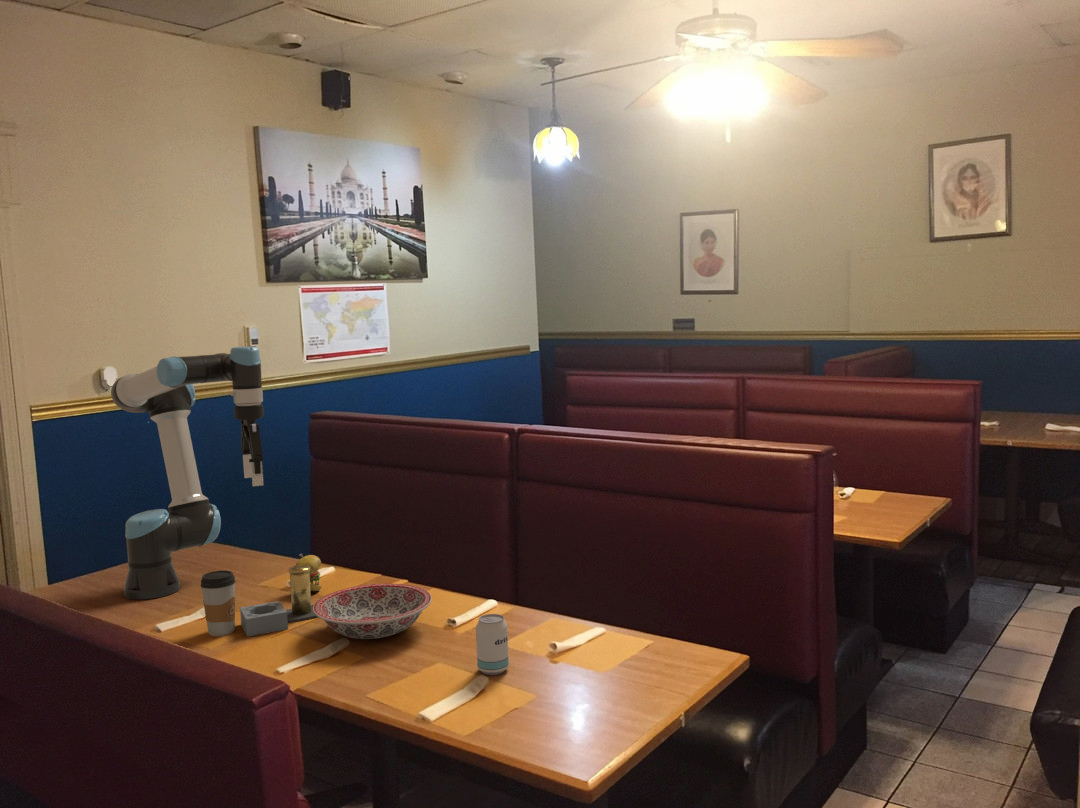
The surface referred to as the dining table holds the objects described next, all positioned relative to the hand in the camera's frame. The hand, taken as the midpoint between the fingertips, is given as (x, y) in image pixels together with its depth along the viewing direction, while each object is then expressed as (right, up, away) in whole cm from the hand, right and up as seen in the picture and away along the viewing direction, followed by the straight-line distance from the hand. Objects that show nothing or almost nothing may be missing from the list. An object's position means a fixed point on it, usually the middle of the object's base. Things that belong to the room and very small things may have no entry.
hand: (253, 481), depth 241 cm
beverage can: (+68, -38, -45) cm, 90 cm away
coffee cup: (-3, -37, -16) cm, 40 cm away
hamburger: (+12, -33, +14) cm, 38 cm away
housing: (+7, -36, -13) cm, 39 cm away
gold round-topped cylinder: (+14, -34, -5) cm, 38 cm away
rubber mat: (+14, -35, -5) cm, 38 cm away
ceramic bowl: (+37, -36, -19) cm, 55 cm away
